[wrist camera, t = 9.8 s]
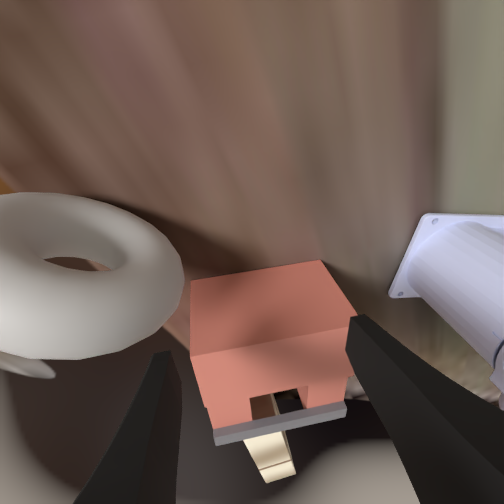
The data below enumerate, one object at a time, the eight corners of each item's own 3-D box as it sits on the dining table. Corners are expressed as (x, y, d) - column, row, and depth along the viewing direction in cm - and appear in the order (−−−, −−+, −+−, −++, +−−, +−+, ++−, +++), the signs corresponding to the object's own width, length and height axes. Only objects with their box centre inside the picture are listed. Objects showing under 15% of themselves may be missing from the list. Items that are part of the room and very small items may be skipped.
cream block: (229, 369, 27) (236, 428, 23) (261, 359, 27) (275, 416, 23) (255, 427, 34) (265, 483, 29) (282, 419, 34) (296, 473, 29)
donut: (194, 220, 19) (195, 339, 10) (177, 262, 20) (166, 396, 12) (11, 158, 15) (-212, 265, 7) (6, 214, 17) (-183, 359, 8)
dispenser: (190, 280, 21) (190, 356, 15) (320, 259, 22) (363, 323, 17) (210, 366, 27) (216, 446, 21) (314, 346, 28) (345, 416, 22)
